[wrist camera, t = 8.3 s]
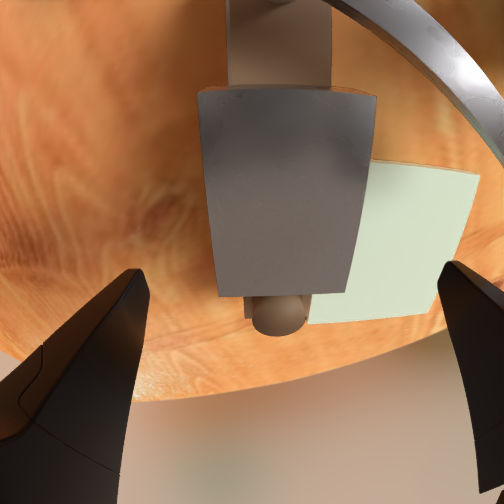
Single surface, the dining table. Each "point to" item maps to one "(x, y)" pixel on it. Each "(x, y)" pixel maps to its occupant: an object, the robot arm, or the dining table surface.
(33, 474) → the robot arm
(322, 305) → the mat
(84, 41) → the dining table surface
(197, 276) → the dining table surface
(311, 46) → the body
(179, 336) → the dining table surface
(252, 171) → the flat grey slab block
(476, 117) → the lever
